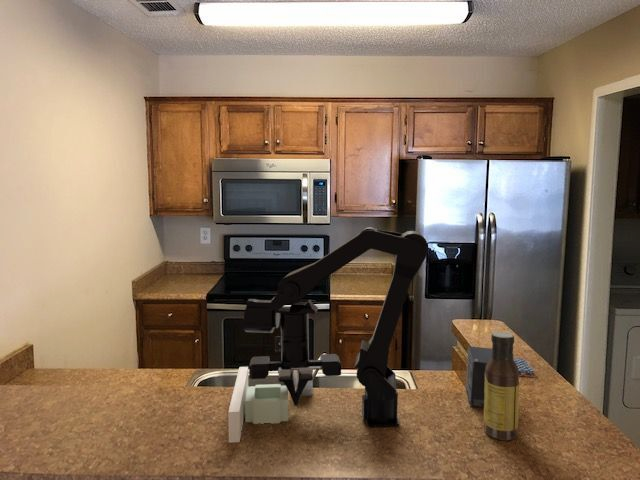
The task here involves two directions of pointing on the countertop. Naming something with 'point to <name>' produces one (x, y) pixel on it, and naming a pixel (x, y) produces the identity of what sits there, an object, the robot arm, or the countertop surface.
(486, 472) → the countertop surface
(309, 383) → the grey square block
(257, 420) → the socket block
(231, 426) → the backstop wall
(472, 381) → the small box
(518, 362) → the woven mat
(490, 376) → the sauce bottle
